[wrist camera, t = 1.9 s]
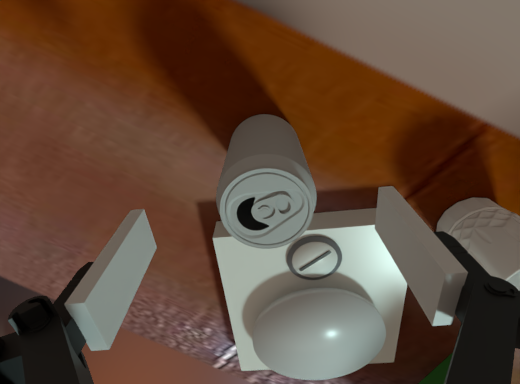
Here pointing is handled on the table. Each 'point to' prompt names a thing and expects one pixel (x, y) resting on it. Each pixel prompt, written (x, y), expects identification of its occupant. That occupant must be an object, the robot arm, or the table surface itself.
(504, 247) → the white cup
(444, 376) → the hardback book
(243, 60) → the table surface
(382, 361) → the kitchen scale
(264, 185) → the beverage can
